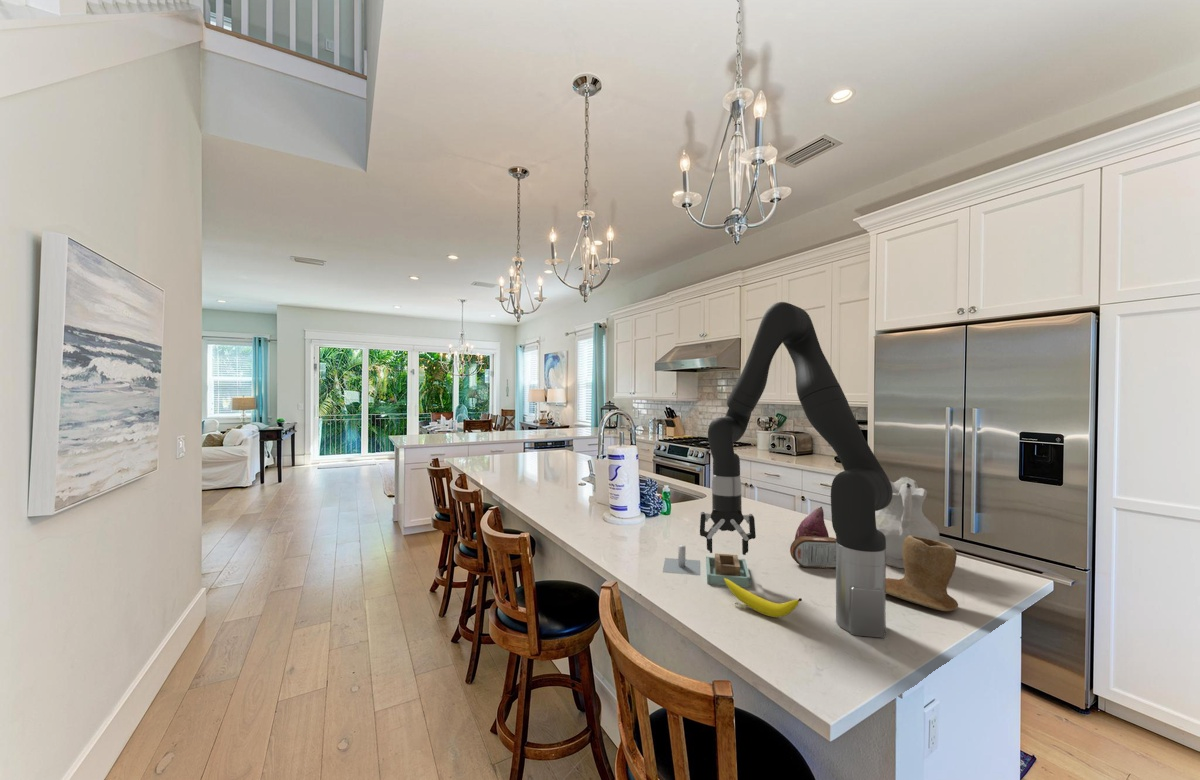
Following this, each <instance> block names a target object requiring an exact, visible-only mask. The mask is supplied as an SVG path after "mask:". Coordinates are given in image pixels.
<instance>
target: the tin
mask: <svg viewBox="0 0 1200 780" xmlns="http://www.w3.org/2000/svg"><path fill="white" fill-rule="evenodd" d="M789 549H790V550H789V552H790V556H791V558H792V559H793V560H794V561H795V562H796V563H797V564H798V565H799V566H800V567H804V568H811V569H831V570H834V569H835V570H836V537H831V536H829V537H811V536H802V537H799V538H797V539H795V538H794V540H793V541H792V542H791V544H790V548H789Z"/></svg>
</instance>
